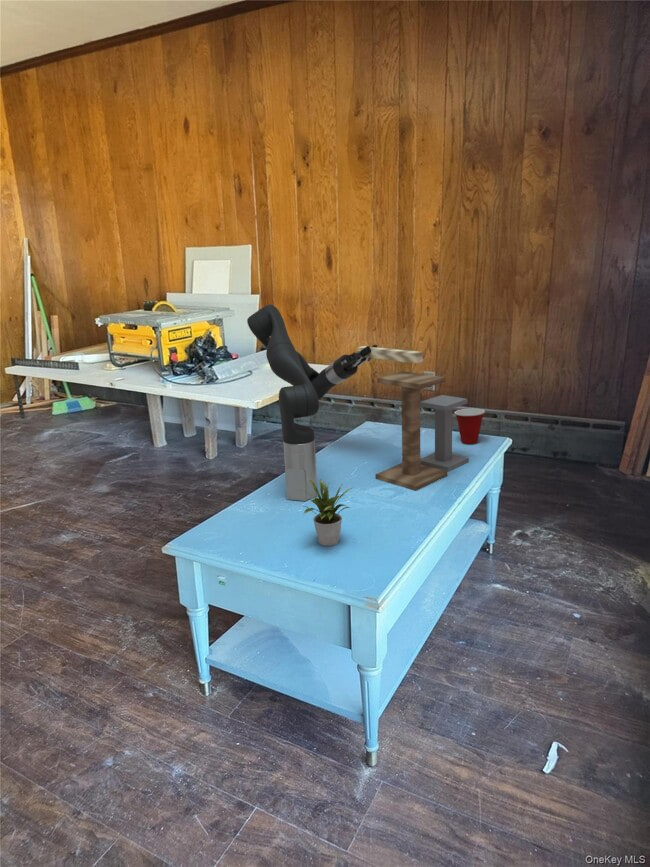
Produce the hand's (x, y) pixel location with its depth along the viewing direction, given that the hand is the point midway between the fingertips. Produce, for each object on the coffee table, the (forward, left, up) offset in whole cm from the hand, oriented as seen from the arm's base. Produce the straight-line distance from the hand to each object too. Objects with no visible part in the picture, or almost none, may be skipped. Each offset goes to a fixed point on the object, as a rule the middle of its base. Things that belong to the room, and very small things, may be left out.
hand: (373, 348), depth 193 cm
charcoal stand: (+4, -22, -39) cm, 45 cm away
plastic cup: (+29, -27, -39) cm, 55 cm away
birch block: (-3, -6, -3) cm, 7 cm away
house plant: (-59, -4, -39) cm, 71 cm away
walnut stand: (-11, -15, -39) cm, 43 cm away
